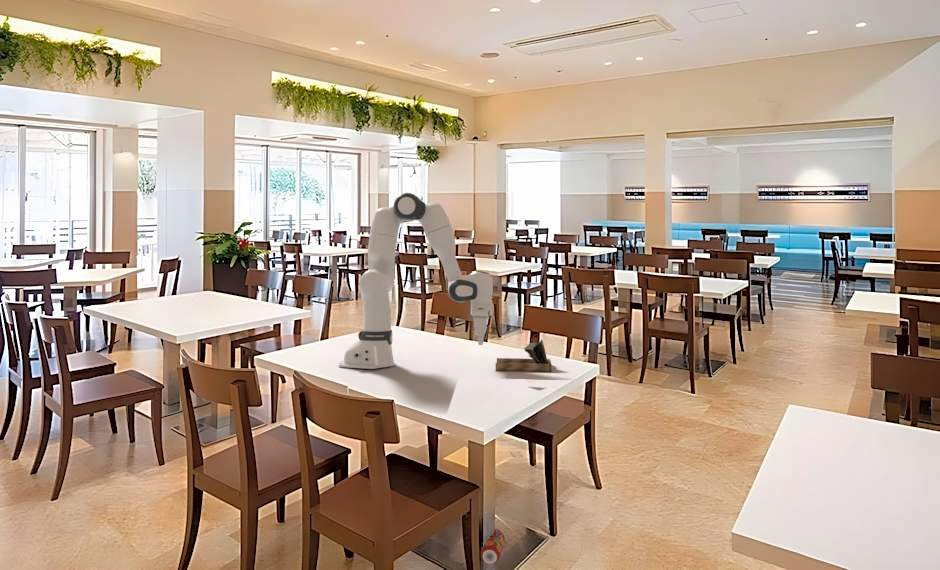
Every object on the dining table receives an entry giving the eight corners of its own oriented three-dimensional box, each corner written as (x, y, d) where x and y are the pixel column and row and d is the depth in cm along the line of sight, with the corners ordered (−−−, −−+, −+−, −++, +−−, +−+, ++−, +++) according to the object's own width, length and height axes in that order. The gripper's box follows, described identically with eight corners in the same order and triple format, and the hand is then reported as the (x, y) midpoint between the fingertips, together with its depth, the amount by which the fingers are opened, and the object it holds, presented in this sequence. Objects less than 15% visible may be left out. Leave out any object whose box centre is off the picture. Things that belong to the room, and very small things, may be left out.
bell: (535, 366, 258) (535, 337, 258) (548, 368, 253) (548, 338, 253) (519, 368, 252) (519, 339, 252) (532, 370, 247) (532, 340, 247)
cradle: (495, 370, 245) (495, 363, 244) (496, 365, 259) (496, 358, 258) (551, 372, 243) (551, 364, 243) (549, 366, 257) (549, 359, 257)
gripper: (475, 308, 262) (474, 341, 262) (472, 312, 241) (471, 347, 242) (490, 309, 261) (489, 341, 262) (488, 312, 241) (487, 348, 241)
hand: (480, 344), depth 252 cm, fingers closed
